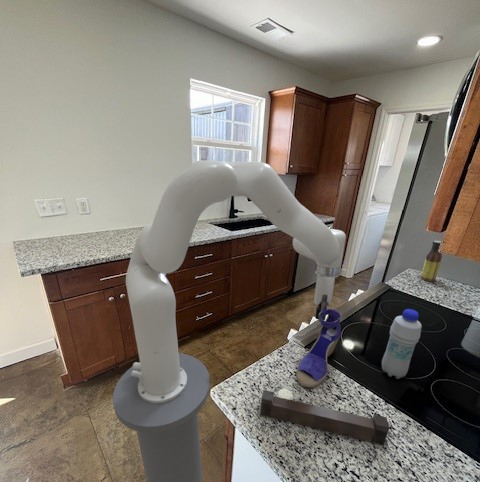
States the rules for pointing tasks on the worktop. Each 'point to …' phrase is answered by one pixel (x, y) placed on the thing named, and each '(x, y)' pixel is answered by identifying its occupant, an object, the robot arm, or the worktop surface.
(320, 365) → the sandal
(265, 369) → the worktop surface
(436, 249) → the sauce bottle
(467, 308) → the worktop surface
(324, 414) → the rail
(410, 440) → the worktop surface
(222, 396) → the worktop surface
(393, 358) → the bottle
